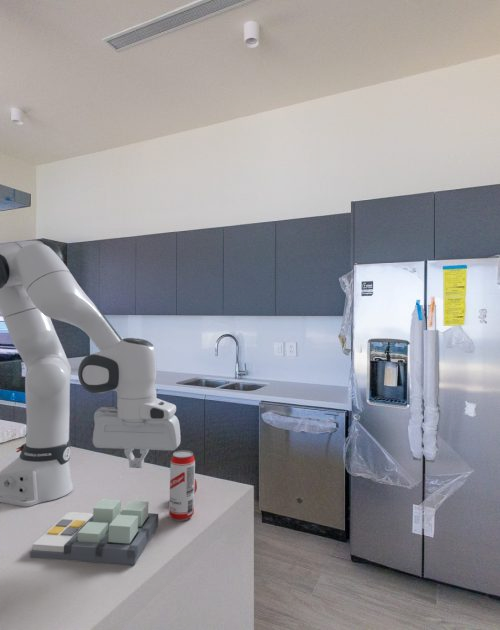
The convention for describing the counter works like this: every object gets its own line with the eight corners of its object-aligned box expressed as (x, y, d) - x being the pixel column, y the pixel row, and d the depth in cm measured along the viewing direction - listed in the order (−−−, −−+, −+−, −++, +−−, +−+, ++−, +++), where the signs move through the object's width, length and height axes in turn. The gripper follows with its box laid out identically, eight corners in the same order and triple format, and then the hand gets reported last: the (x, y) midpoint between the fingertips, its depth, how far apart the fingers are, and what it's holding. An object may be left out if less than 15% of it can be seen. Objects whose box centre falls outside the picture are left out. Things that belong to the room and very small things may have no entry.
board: (29, 557, 82) (30, 542, 82) (69, 520, 97) (69, 508, 97) (134, 565, 80) (135, 550, 80) (158, 526, 95) (158, 513, 95)
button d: (121, 525, 89) (122, 509, 89) (129, 515, 94) (129, 500, 94) (141, 526, 89) (141, 511, 89) (148, 516, 93) (148, 501, 93)
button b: (93, 523, 90) (93, 508, 90) (102, 513, 94) (102, 498, 94) (112, 524, 89) (112, 509, 89) (120, 514, 94) (121, 500, 94)
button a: (77, 549, 83) (77, 532, 83) (88, 537, 87) (88, 521, 88) (98, 550, 83) (98, 534, 83) (107, 538, 87) (108, 522, 87)
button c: (108, 542, 82) (108, 525, 82) (117, 530, 87) (118, 514, 87) (129, 543, 82) (130, 526, 82) (137, 531, 87) (138, 515, 87)
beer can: (182, 525, 96) (184, 459, 96) (163, 517, 99) (165, 454, 99) (198, 514, 101) (200, 452, 101) (180, 508, 104) (182, 448, 105)
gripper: (87, 409, 89) (87, 470, 89) (175, 412, 87) (174, 474, 87) (100, 403, 95) (100, 460, 95) (182, 405, 94) (182, 463, 93)
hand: (136, 467), depth 91 cm, fingers closed
